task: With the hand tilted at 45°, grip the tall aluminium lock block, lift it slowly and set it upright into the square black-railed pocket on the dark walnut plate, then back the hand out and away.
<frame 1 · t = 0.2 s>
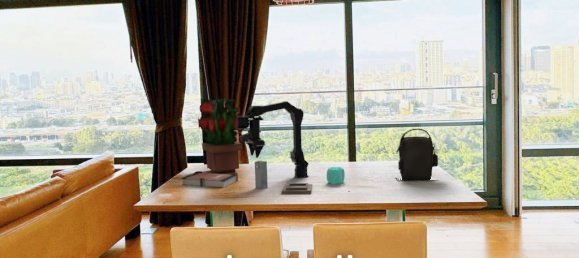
hand: (254, 156, 264), 14 cm above the table, fingers open, 9 cm apart
potted plant: (223, 171, 298), on the table
lock block: (261, 187, 251), on the table
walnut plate: (297, 190, 243), on the table
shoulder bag: (417, 179, 260), on the table
decorative dice: (335, 183, 258), on the table
book: (209, 184, 265), on the table
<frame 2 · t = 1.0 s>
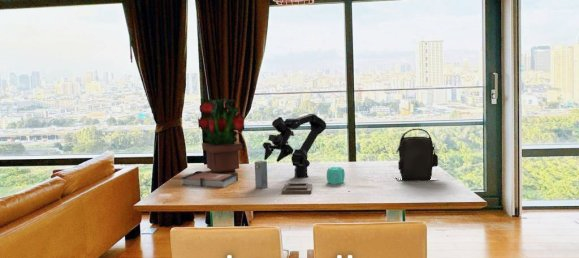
hand: (270, 160, 255), 13 cm above the table, fingers open, 9 cm apart
nothing on the table moved.
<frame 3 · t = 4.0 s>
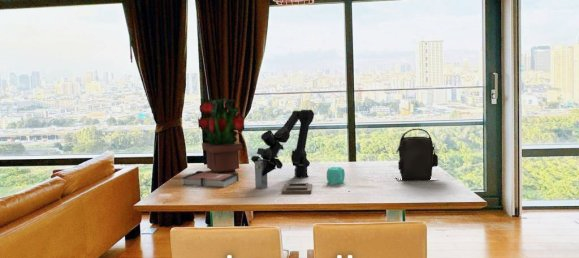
hand: (259, 175, 249), 7 cm above the table, fingers closed on lock block, 4 cm apart
lock block: (261, 187, 251), on the table, touching gripper
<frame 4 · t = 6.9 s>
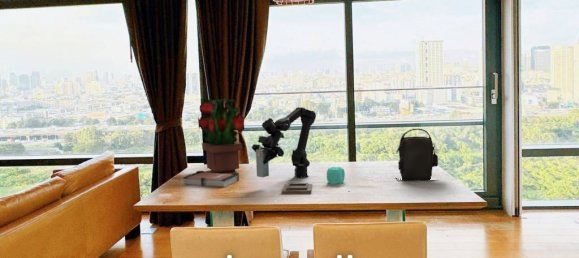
hand: (260, 163, 247), 14 cm above the table, fingers closed on lock block, 4 cm apart
lock block: (262, 176, 249), point 6 cm above the table, touching gripper
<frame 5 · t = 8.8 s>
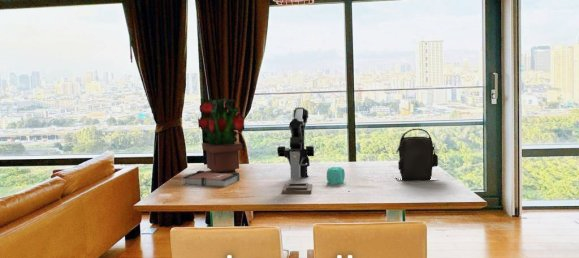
hand: (295, 164, 240), 14 cm above the table, fingers closed on lock block, 4 cm apart
lock block: (295, 178, 242), point 6 cm above the table, touching gripper
when the fingers open (10 cm above the table, at t = 10.3 s): lock block stays where it is, resting on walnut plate.
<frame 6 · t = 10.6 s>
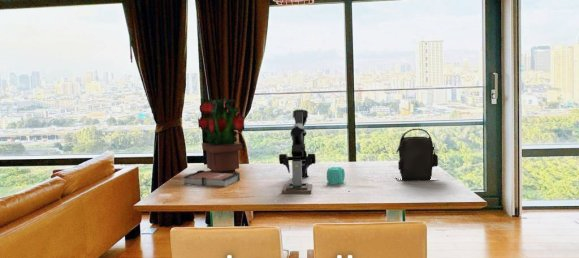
hand: (296, 172, 240), 10 cm above the table, fingers open, 8 cm apart
lock block: (297, 187, 242), point 1 cm above the table, touching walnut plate
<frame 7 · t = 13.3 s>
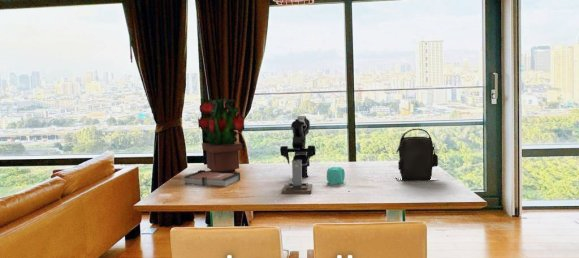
hand: (297, 163, 250), 12 cm above the table, fingers open, 9 cm apart
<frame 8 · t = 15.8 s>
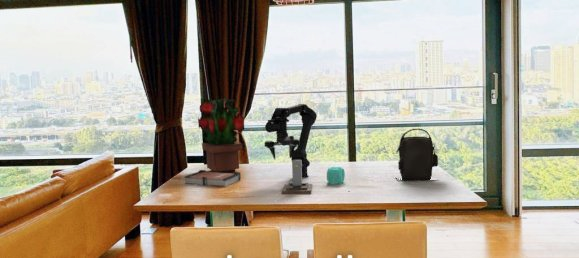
hand: (282, 158, 262), 13 cm above the table, fingers open, 9 cm apart
at the end: lock block 0.1 cm off-centre on the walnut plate, point 1.5 cm above the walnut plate's base; lock block tilted 0°; the gripper is holding nothing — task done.
